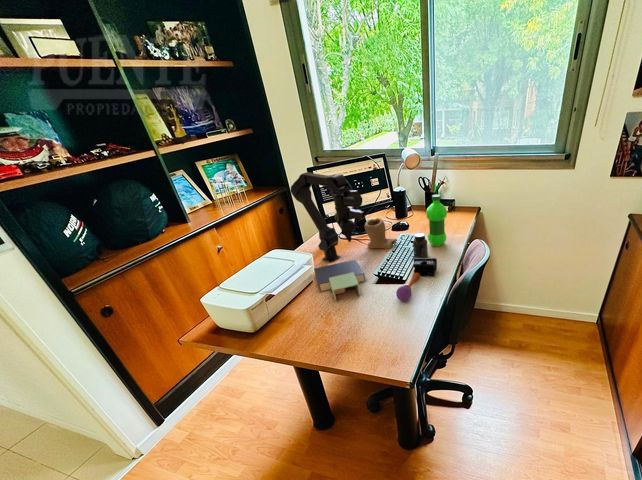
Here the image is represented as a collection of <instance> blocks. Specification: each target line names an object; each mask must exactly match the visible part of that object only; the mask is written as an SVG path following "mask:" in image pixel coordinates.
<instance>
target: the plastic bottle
mask: <svg viewBox="0 0 642 480" xmlns="http://www.w3.org/2000/svg"><path fill="white" fill-rule="evenodd" d="M441 198H442V197H441V194H432V195H431V201H432V203H431V204H429V206H428V207H427V208H426V211H425V212H426V218H427V219H428V226H429V232H428V234H427V241H428V242H429V244H431V245H432V246H434V247H440V246H442V245H443V244H444V243H446V241H447V234H446V232H445V231H446V230H445V220H446V218H447V216H448V211H447V208H446V206H445V205H444V204H442V203H441V202H440V201H441V200H442V199H441Z"/></svg>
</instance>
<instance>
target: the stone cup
mask: <svg viewBox="0 0 642 480" xmlns="http://www.w3.org/2000/svg"><path fill="white" fill-rule="evenodd" d="M364 229H365V233H366V234H367V236H368V238H369V242H368V243H367V248H371V249H390V248H393V247H394V246H393V244H394V243H395V242H396V241H397V242H398V239H397V238H387V237H386V223H385V221H384V220H383V219H381V218H379V217H377V218H371V219H369V220H368V221H366V222H365V223H364ZM397 242H396V243H397Z"/></svg>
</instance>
